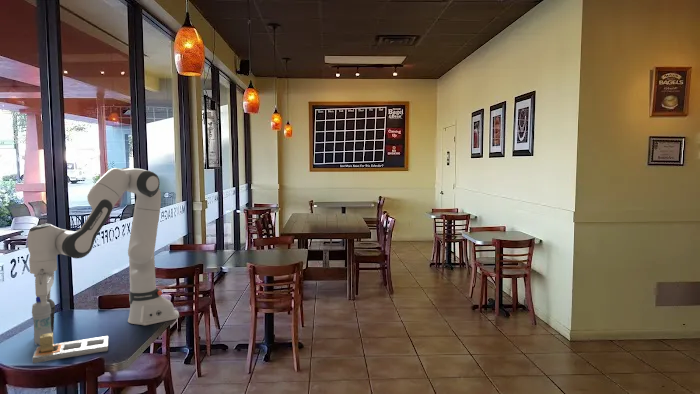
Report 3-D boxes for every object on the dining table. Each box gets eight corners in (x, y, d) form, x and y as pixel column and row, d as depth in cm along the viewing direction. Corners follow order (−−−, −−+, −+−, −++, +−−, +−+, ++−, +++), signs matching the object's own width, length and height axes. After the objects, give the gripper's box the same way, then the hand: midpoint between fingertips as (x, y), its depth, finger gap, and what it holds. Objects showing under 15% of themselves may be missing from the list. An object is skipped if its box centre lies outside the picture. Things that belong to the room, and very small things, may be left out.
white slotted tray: (108, 340, 198) (108, 335, 198) (107, 350, 188) (107, 345, 187) (37, 351, 187) (37, 346, 187) (32, 363, 177) (32, 357, 176)
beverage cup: (47, 337, 202) (44, 291, 200) (33, 336, 204) (30, 290, 202) (61, 331, 209) (58, 286, 208) (47, 329, 211) (44, 285, 209)
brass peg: (54, 352, 186) (53, 332, 186) (53, 356, 183) (52, 336, 182) (42, 354, 184) (40, 334, 184) (41, 358, 181) (39, 337, 180)
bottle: (39, 340, 199) (36, 293, 197) (56, 339, 199) (53, 293, 198) (30, 346, 192) (27, 298, 190) (47, 346, 193) (44, 298, 191)
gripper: (49, 271, 173) (52, 308, 174) (56, 260, 191) (58, 294, 193) (29, 273, 170) (32, 311, 172) (37, 262, 189) (40, 296, 190)
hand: (46, 302), depth 182 cm, fingers open, 8 cm apart
